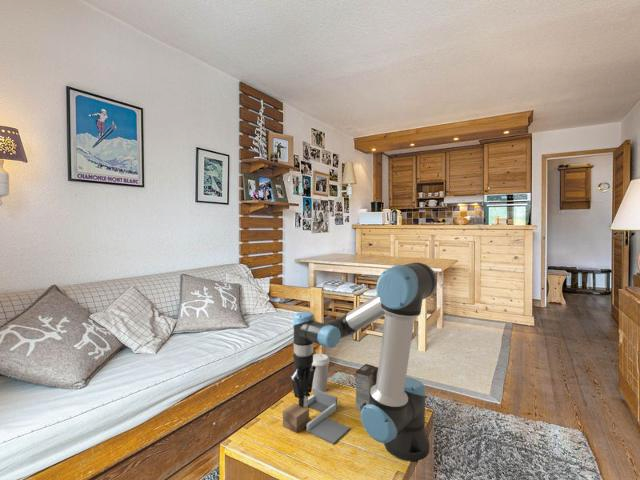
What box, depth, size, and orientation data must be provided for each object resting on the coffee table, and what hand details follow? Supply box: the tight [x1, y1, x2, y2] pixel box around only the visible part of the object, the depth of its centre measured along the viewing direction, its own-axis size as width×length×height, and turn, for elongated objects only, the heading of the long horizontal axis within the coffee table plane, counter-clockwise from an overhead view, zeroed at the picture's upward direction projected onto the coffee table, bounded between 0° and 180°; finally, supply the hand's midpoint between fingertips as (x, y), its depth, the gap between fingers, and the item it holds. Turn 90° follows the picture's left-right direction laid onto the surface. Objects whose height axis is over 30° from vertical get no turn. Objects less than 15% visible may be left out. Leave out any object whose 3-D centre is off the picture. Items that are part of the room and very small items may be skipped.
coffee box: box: [355, 363, 378, 412], centre depth 143 cm, size 9×6×16 cm
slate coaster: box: [308, 417, 351, 445], centre depth 126 cm, size 11×11×1 cm
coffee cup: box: [312, 353, 331, 392], centre depth 158 cm, size 10×10×15 cm
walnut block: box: [282, 402, 310, 434], centre depth 130 cm, size 7×7×6 cm
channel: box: [305, 389, 338, 432], centre depth 137 cm, size 12×19×5 cm, turn 143°
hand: (303, 412), depth 133 cm, fingers closed
